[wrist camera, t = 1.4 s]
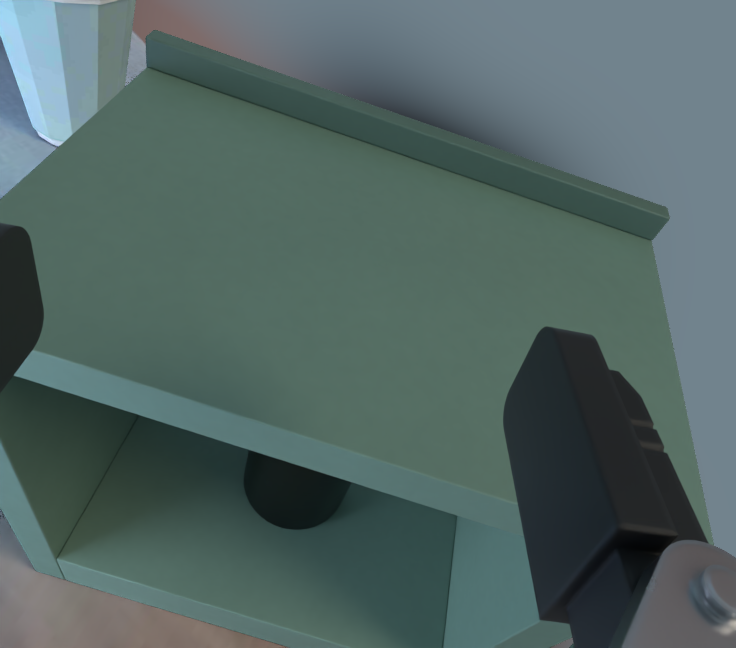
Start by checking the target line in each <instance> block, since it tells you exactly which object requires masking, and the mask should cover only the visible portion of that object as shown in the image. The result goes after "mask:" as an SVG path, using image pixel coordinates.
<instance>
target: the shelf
mask: <svg viewBox="0 0 736 648" xmlns="http://www.w3.org/2000/svg"><path fill="white" fill-rule="evenodd" d="M146 61H147V68H146V69H145V70H144V71H142V72H141V73H140V74H139V75H138V76H137V77H136V78H135V79H134V80H132V81H131V82H130V83H129V84H128V85H127V86H126V87H125V88H124V89H122V90H121V91H120V92H119V93H118V94H117V95H116V96H115V97H114V98H112V99H111V100H110V101H109V102H108V103H107V104H106V105H105V106H104V107H102V108H101V109H100V110H99V111H98V112H97V113H96V114H95V115H94V116H92V117H91V118H90V119H89V120H88V121H87V122H86V123H85V124H84V125H82V126H81V127H80V128H79V129H78V130H77V131H76V132H75V133H74V134H72V135H71V136H70V137H69V138H68V139H67V140H66V141H65V142H63V143H62V144H61V145H60V146H59V147H58V148H57V149H56V150H55V151H53V152H52V153H51V154H50V155H49V156H48V157H47V158H46V159H45V160H43V161H42V162H41V163H40V164H39V165H38V166H37V167H36V168H35V169H33V170H32V171H31V172H30V173H29V174H28V175H27V176H26V177H25V178H23V179H22V180H21V181H20V182H19V183H18V184H17V185H16V186H15V187H13V188H12V189H11V190H10V191H9V192H8V193H7V194H6V195H5V196H3V197H2V198H1V199H0V223H5V224H10V225H15V226H21V227H23V228H24V229H25V230H26V231H27V232H28V234H29V236H30V239H31V243H32V249H33V254H34V259H35V265H36V270H37V275H38V281H39V286H40V291H41V297H42V302H43V308H44V321H43V327H42V331H41V334H40V337H39V339H38V342H37V344H36V346H35V347H34V349H33V350H32V351H31V353H30V354H29V355H28V357H27V358H26V359H25V361H24V362H23V363H22V365H21V366H20V367H19V369H18V370H17V371H16V373H15V374H14V375H13V377H12V378H11V380H10V381H9V382H8V384H7V385H6V386H5V388H4V389H3V390H2V392H1V393H0V508H1V510H2V512H3V514H4V515H5V517H6V519H7V521H8V522H9V524H10V526H11V528H12V530H13V531H14V533H15V535H16V537H17V539H18V540H19V542H20V544H21V546H22V547H23V549H24V551H25V553H26V555H27V556H28V558H29V560H30V562H31V564H32V565H33V567H34V569H35V570H36V571H38V572H41V573H44V574H48V575H51V576H54V577H58V578H61V579H66V580H67V581H71V582H74V583H77V584H81V585H84V586H87V587H91V588H94V589H97V590H101V591H104V592H107V593H111V594H114V595H117V596H120V597H124V598H127V599H130V600H134V601H137V602H140V603H144V604H147V605H150V606H154V607H157V608H160V609H164V610H167V611H170V612H173V613H177V614H180V615H183V616H187V617H190V618H193V619H197V620H200V621H203V622H207V623H210V624H213V625H217V626H220V627H223V628H227V629H230V630H233V631H236V632H240V633H243V634H246V635H250V636H253V637H256V638H260V639H263V640H266V641H270V642H273V643H276V644H280V645H283V646H286V647H289V648H550V647H553V646H555V645H557V644H559V643H561V642H563V641H565V640H567V639H570V638H572V633H571V629H570V624H565V623H558V622H551V621H543V620H540V619H539V613H538V608H537V603H536V597H535V592H534V587H533V581H532V576H531V571H530V566H529V560H528V555H527V550H526V544H525V539H524V534H523V529H522V523H521V518H520V513H519V507H518V502H517V497H516V492H515V486H514V481H513V476H512V470H511V465H510V460H509V454H508V449H507V444H506V439H505V433H504V427H503V412H504V405H505V401H506V397H507V394H508V392H509V390H510V387H511V385H512V383H513V381H514V379H515V377H516V375H517V374H518V372H519V370H520V368H521V366H522V364H523V362H524V360H525V358H526V356H527V354H528V352H529V350H530V348H531V346H532V344H533V342H534V340H535V338H536V336H537V334H538V333H539V331H540V330H541V329H542V328H544V327H546V326H548V327H553V328H559V329H564V330H569V331H575V332H580V333H585V334H591V335H593V336H594V337H595V338H596V340H597V342H598V344H599V346H600V349H601V351H602V354H603V356H604V358H605V361H606V363H607V366H608V368H609V370H615V371H619V372H620V373H621V374H622V376H623V377H624V378H625V379H626V380H627V381H628V382H629V383H630V385H631V386H632V387H633V388H634V389H635V390H636V391H637V392H638V393H639V395H640V396H641V397H642V399H643V401H644V403H645V406H646V408H647V410H648V412H649V414H650V416H651V419H652V421H653V423H654V425H653V429H656V430H657V432H658V434H659V436H660V438H661V440H662V443H663V445H664V453H667V454H668V456H669V458H670V460H671V462H672V464H673V467H674V469H675V471H676V473H677V475H678V478H679V480H680V482H681V484H682V486H683V489H684V491H685V493H686V495H687V497H688V499H689V502H690V504H691V506H692V508H693V510H694V513H695V515H696V517H697V519H698V521H699V523H700V526H701V528H702V530H703V532H704V534H705V537H706V539H707V541H708V543H709V544H711V545H714V543H713V538H712V533H711V528H710V523H709V519H708V514H707V509H706V504H705V499H704V494H703V489H702V484H701V479H700V474H699V470H698V465H697V460H696V455H695V450H694V446H693V441H692V436H691V431H690V426H689V421H688V416H687V411H686V406H685V401H684V397H683V392H682V387H681V382H680V377H679V372H678V368H677V363H676V358H675V353H674V348H673V343H672V338H671V333H670V330H669V324H668V319H667V314H666V309H665V304H664V299H663V295H662V290H661V285H660V280H659V275H658V270H657V265H656V260H655V256H654V251H653V246H652V241H651V240H653V239H654V238H655V236H656V235H657V234H658V233H659V232H660V230H661V229H662V228H663V227H664V225H665V224H666V223H667V222H668V221H669V219H670V217H669V213H668V209H667V208H666V207H664V206H661V205H658V204H656V203H653V202H650V201H647V200H644V199H641V198H638V197H635V196H633V195H630V194H627V193H624V192H621V191H618V190H615V189H612V188H610V187H607V186H604V185H601V184H598V183H595V182H592V181H589V180H587V179H584V178H581V177H577V176H575V175H572V174H569V173H566V172H563V171H560V170H558V169H555V168H552V167H549V166H546V165H543V164H540V163H538V162H534V161H532V160H529V159H526V158H523V157H520V156H517V155H515V154H511V153H509V152H506V151H503V150H500V149H497V148H494V147H491V146H489V145H485V144H483V143H480V142H477V141H474V140H471V139H468V138H465V137H462V136H460V135H457V134H454V133H451V132H448V131H445V130H443V129H439V128H437V127H434V126H431V125H428V124H425V123H422V122H419V121H416V120H413V119H411V118H408V117H405V116H402V115H399V114H396V113H394V112H391V111H388V110H385V109H382V108H379V107H376V106H373V105H370V104H367V103H365V102H362V101H359V100H356V99H353V98H350V97H347V96H345V95H342V94H339V93H336V92H333V91H330V90H327V89H324V88H321V87H318V86H316V85H313V84H310V83H307V82H304V81H301V80H298V79H296V78H293V77H290V76H287V75H284V74H281V73H278V72H275V71H273V70H270V69H267V68H264V67H261V66H258V65H255V64H252V63H250V62H247V61H244V60H241V59H238V58H235V57H232V56H229V55H226V54H223V53H221V52H218V51H215V50H212V49H209V48H206V47H203V46H200V45H198V44H195V43H192V42H189V41H186V40H183V39H180V38H178V37H175V36H172V35H169V34H166V33H163V32H160V31H157V30H154V31H152V32H151V33H150V34H149V35H147V36H146ZM249 450H251V451H254V452H258V453H261V454H264V455H267V456H270V457H273V458H277V459H280V460H283V461H286V462H289V463H292V464H295V465H299V466H302V467H305V468H308V469H311V470H314V471H318V472H321V473H324V474H327V475H330V476H333V477H337V478H340V479H343V480H346V481H349V482H352V483H351V485H350V487H349V489H348V491H347V493H346V495H345V496H344V498H343V500H342V502H341V504H340V506H339V508H338V509H337V511H336V512H335V513H334V514H333V515H332V516H331V517H330V518H329V519H328V520H326V521H325V522H323V523H321V524H319V525H317V526H315V527H312V528H308V529H302V530H291V529H285V528H281V527H278V526H275V525H273V524H271V523H269V522H267V521H266V520H265V519H263V518H262V517H261V516H260V515H259V514H258V513H257V512H256V511H255V510H254V509H253V507H252V506H251V504H250V502H249V500H248V498H247V496H246V492H245V488H244V473H245V467H246V462H247V457H248V451H249Z"/></svg>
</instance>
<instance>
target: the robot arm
mask: <svg viewBox="0 0 736 648" xmlns="http://www.w3.org/2000/svg"><path fill="white" fill-rule="evenodd" d="M43 321H44V308H43V302H42V297H41V291H40V286H39V281H38V275H37V270H36V265H35V259H34V254H33V249H32V243H31V239H30V236H29V234H28V232H27V231H26V230H25V229H24V228H23V227H21V226H15V225H10V224H5V223H0V393H1V392H2V390H3V389H4V388H5V386H6V385H7V384H8V382H9V381H10V380H11V378H12V377H13V375H14V374H15V373H16V371H17V370H18V369H19V367H20V366H21V365H22V363H23V362H24V361H25V359H26V358H27V357H28V355H29V354H30V353H31V351H32V350H33V349H34V347H35V346H36V344H37V342H38V339H39V337H40V334H41V331H42V327H43ZM653 425H654V423H653V421H652V419H651V416H650V414H649V412H648V410H647V408H646V406H645V403H644V401H643V399H642V397H641V396H640V395H639V393H638V392H637V391H636V390H635V389H634V388H633V387H632V386H631V385H630V383H629V382H628V381H627V380H626V379H625V378H624V377H623V376H622V374H621V373H620V372H619V371H615V370H609V368H608V366H607V363H606V361H605V358H604V356H603V354H602V351H601V349H600V346H599V344H598V342H597V340H596V338H595V337H594V336H593V335H591V334H585V333H580V332H575V331H569V330H564V329H559V328H553V327H548V326H546V327H544V328H542V329H541V330H540V331H539V333H538V334H537V336H536V338H535V340H534V342H533V344H532V346H531V348H530V350H529V352H528V354H527V356H526V358H525V360H524V362H523V364H522V366H521V368H520V370H519V372H518V374H517V375H516V377H515V379H514V381H513V383H512V385H511V387H510V390H509V392H508V394H507V397H506V401H505V405H504V412H503V427H504V433H505V439H506V444H507V449H508V454H509V460H510V465H511V470H512V476H513V481H514V486H515V492H516V497H517V502H518V507H519V513H520V518H521V523H522V529H523V534H524V539H525V544H526V550H527V555H528V560H529V566H530V571H531V576H532V581H533V587H534V592H535V597H536V603H537V608H538V613H539V619H540V620H543V621H551V622H558V623H565V624H570V629H571V633H572V638H573V642H574V643H573V644H572V645H571V646H570V647H569V648H736V558H735V557H734V556H732V555H731V554H729V553H727V552H726V551H724V550H722V549H720V548H718V547H716V546H714V545H711V544H709V543H708V541H707V539H706V537H705V534H704V532H703V530H702V528H701V526H700V523H699V521H698V519H697V517H696V515H695V513H694V510H693V508H692V506H691V504H690V502H689V499H688V497H687V495H686V493H685V491H684V489H683V486H682V484H681V482H680V480H679V478H678V475H677V473H676V471H675V469H674V467H673V464H672V462H671V460H670V458H669V456H668V454H667V453H664V445H663V443H662V440H661V438H660V436H659V434H658V432H657V430H656V429H653Z"/></svg>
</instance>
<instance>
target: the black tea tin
mask: <svg viewBox="0 0 736 648" xmlns="http://www.w3.org/2000/svg"><path fill="white" fill-rule="evenodd" d="M351 483H352V482H349V481H346V480H343V479H340V478H337V477H333V476H330V475H327V474H324V473H321V472H318V471H314V470H311V469H308V468H305V467H302V466H299V465H295V464H292V463H289V462H286V461H283V460H280V459H277V458H273V457H270V456H267V455H264V454H261V453H258V452H254V451H251V450H249V451H248V457H247V462H246V467H245V473H244V488H245V492H246V496H247V498H248V500H249V502H250V504H251V506H252V507H253V509H254V510H255V511H256V512H257V513H258V514H259V515H260V516H261V517H262V518H263V519H265V520H266V521H267V522H269V523H271V524H273V525H275V526H278V527H281V528H285V529H291V530H302V529H308V528H312V527H315V526H317V525H319V524H321V523H323V522H325V521H326V520H328V519H329V518H330V517H331V516H332V515H333V514H334V513H335V512H336V511H337V509H338V508H339V506H340V504H341V502H342V500H343V498H344V496H345V495H346V493H347V491H348V489H349V487H350V485H351Z"/></svg>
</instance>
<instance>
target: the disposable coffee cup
mask: <svg viewBox="0 0 736 648" xmlns="http://www.w3.org/2000/svg"><path fill="white" fill-rule="evenodd" d="M135 3H136V0H0V36H1V39H2V41H3V44H4V47H5V50H6V53H7V56H8V59H9V61H10V64H11V67H12V70H13V73H14V76H15V78H16V81H17V84H18V87H19V90H20V93H21V95H22V98H23V101H24V104H25V107H26V110H27V113H28V115H29V118H30V121H31V124H32V126H33V128H34V129H35V130H37V133H38V135H39V136H40V137H42V138H43V139H45V140H46V141H48V142H49V143H51V144H53V145H55V146H60V145H61V144H62V143H63V142H65V141H66V140H67V139H68V138H69V137H70V136H71V135H72V134H74V133H75V132H76V131H77V130H78V129H79V128H80V127H81V126H82V125H84V124H85V123H86V122H87V121H88V120H89V119H90V118H91V117H92V116H94V115H95V114H96V113H97V112H98V111H99V110H100V109H101V108H102V107H104V106H105V105H106V104H107V103H108V102H109V101H110V100H111V99H112V98H114V97H115V96H116V95H117V94H118V93H119V92H120V91H121V90H122V89H124V88H125V80H126V72H127V65H128V57H129V49H130V42H131V34H132V26H133V19H134V11H135Z"/></svg>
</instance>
